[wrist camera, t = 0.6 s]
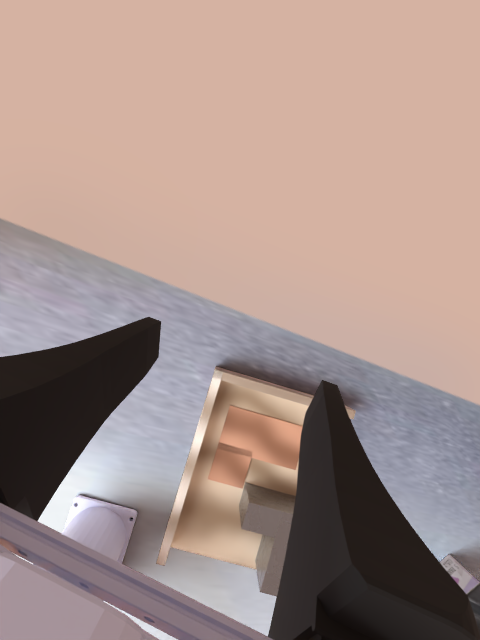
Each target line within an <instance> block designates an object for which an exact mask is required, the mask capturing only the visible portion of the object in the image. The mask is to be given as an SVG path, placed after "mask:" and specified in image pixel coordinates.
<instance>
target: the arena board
mask: <svg viewBox="0 0 480 640" xmlns="http://www.w3.org/2000/svg"><path fill="white" fill-rule="evenodd" d="M313 397H314V395H311V394H307V393H304V392H300V391H297V390H294V389H290V388H287V387H284V386H280V385H277V384H273V383H270V382H267V381H263V380H260V379H257V378H253V377H250V376H247V375H243V374H240V373H236V372H233V371H230V370H226V369H223V368H220V367H215V371H214V374H213V377H212V380H211V384H210V387H209V390H208V393H207V397H206V400H205V403H204V407H203V410H202V413H201V416H200V420H199V423H198V426H197V430H196V433H195V436H194V439H193V443H192V446H191V449H190V452H189V456H188V459H187V462H186V466H185V469H184V472H183V475H182V479H181V482H180V485H179V488H178V492H177V495H176V498H175V502H174V505H173V508H172V511H171V515H170V518H169V521H168V524H167V528H166V531H165V534H164V538H163V541H162V544H161V548H160V552H159V555H158V559H157V563H156V564H159V565H163V566H165V563H166V560H167V556H168V553H169V550H170V547H172V548H176V549H180V550H183V551H187V552H191V553H195V554H199V555H203V556H206V557H210V558H214V559H218V560H222V561H226V562H230V563H233V564H237V565H241V566H245V567H249V568H253V569H256V563H255V560H256V556H257V552H258V549H259V545H260V542H261V538H262V534H258V533H255V532H251V531H247V530H243V529H241V521H240V512H239V503H240V500H241V496H242V493H243V489H244V486H245V482H247V483H250V484H254V485H258V486H261V487H265V488H268V489H272V490H276V491H279V492H283V493H287V494H290V495H294V496H296V490H297V477H298V464H299V451H300V439H301V432H302V427H303V422H304V417H305V413H306V411H307V409H308V407H309V405H310V403H311V401H312V399H313ZM345 407H346V410H347V413H348V415H349V418H351V419H354V415H355V412H356V411H354V410H353V409H351V408H349V407H347V406H346V405H345ZM256 570H257V569H256Z"/></svg>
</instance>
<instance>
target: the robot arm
mask: <svg viewBox="0 0 480 640" xmlns="http://www.w3.org/2000/svg"><path fill="white" fill-rule="evenodd" d="M160 329H161V321H159V320H156V319H153V318H150V317H147V318H144V319H141V320H138V321H135V322H133V323H130V324H128V325H125V326H122V327H120V328H117V329H114V330H111V331H109V332H106V333H103V334H100V335H97V336H94V337H91V338H88V339H85V340H81V341H78V342H75V343H71V344H67V345H63V346H59V347H55V348H51V349H46V350H41V351H36V352H30V353H25V354H19V355H13V356H5V357H0V640H159V639H157V638H156V637H154V636H152V635H151V634H149V633H148V632H146V631H144V630H143V629H141V627H140V626H139V625H137V624H136V623H135V622H134V621H133V620H131V619H130V618H129V617H128V616H126V615H125V614H123V613H121V612H120V611H118V610H117V609H115V608H113V607H112V606H110V605H108V604H107V603H105V602H103V600H104V601H106V602H108V603H110V604H111V605H113V606H115V607H117V608H119V609H121V610H123V611H125V612H127V613H129V614H130V615H132V616H134V617H136V618H138V619H140V620H142V621H144V622H146V623H148V624H150V625H151V626H153V627H155V628H157V629H159V630H161V631H163V632H165V633H167V634H169V635H170V636H172V637H174V638H176V639H178V640H480V633H479V630H478V626H477V622H476V619H475V616H474V613H473V610H472V607H471V604H470V601H469V598H468V596H467V594H466V593H465V592H464V591H463V590H462V588H461V587H460V586H459V585H458V584H457V582H456V581H455V580H454V579H453V578H452V577H451V575H450V574H449V573H448V572H447V571H446V569H445V568H444V567H443V566H442V565H441V564H440V562H439V561H438V560H437V559H436V558H435V556H434V555H433V554H432V553H431V551H430V550H429V549H428V548H427V546H426V545H425V544H424V542H423V541H422V540H421V538H420V537H419V536H418V535H417V533H416V532H415V531H414V529H413V528H412V526H411V525H410V524H409V522H408V521H407V520H406V518H405V517H404V515H403V514H402V513H401V511H400V510H399V508H398V507H397V505H396V504H395V502H394V501H393V499H392V498H391V496H390V495H389V493H388V492H387V490H386V488H385V487H384V485H383V484H382V482H381V480H380V479H379V477H378V475H377V473H376V472H375V470H374V468H373V467H372V465H371V463H370V461H369V459H368V457H367V455H366V453H365V451H364V449H363V447H362V445H361V443H360V441H359V439H358V436H357V434H356V432H355V430H354V427H353V425H352V423H351V420H350V418H349V415H348V413H347V410H346V407H345V405H344V402H343V399H342V397H341V394H340V391H339V388H338V386H337V385H335V384H332V383H329V382H326V381H324V380H322V381H321V383H320V385H319V387H318V389H317V391H316V393H315V395H314V397H313V399H312V401H311V403H310V405H309V407H308V409H307V411H306V413H305V417H304V422H303V427H302V432H301V439H300V451H299V464H298V477H297V490H296V498H295V505H294V511H293V517H292V522H291V528H290V533H289V539H288V544H287V549H286V555H285V560H284V565H283V569H282V574H281V579H280V584H279V589H278V594H277V598H276V603H275V608H274V612H273V617H272V621H271V626H270V630H269V635H268V637H267V636H265V635H263V634H261V633H259V632H257V631H255V630H253V629H251V628H249V627H247V626H245V625H243V624H241V623H239V622H237V621H235V620H233V619H231V618H229V617H227V616H225V615H223V614H221V613H219V612H217V611H215V610H213V609H211V608H209V607H207V606H205V605H203V604H201V603H199V602H197V601H195V600H193V599H191V598H189V597H187V596H185V595H183V594H181V593H179V592H177V591H175V590H173V589H171V588H169V587H167V586H165V585H163V584H161V583H159V582H157V581H155V580H153V579H151V578H149V577H147V576H145V575H143V574H141V573H139V572H137V571H135V570H133V569H131V568H129V567H127V566H125V565H123V564H122V562H123V559H124V556H125V552H126V549H127V546H128V543H129V540H130V536H131V533H132V530H133V527H134V524H135V520H136V517H137V511H136V510H134V509H130V508H126V507H122V506H119V505H115V504H111V503H107V502H104V501H100V500H96V499H92V498H88V497H85V496H81V495H77V496H76V497H75V498H74V500H73V503H72V506H71V509H70V512H69V515H68V518H67V521H66V524H65V527H64V530H63V532H62V533H59V532H57V531H55V530H53V529H51V528H49V527H47V526H45V525H43V524H41V523H39V522H37V521H38V519H39V517H40V516H41V514H42V512H43V511H44V509H45V508H46V506H47V504H48V503H49V501H50V500H51V498H52V496H53V495H54V493H55V492H56V490H57V489H58V487H59V485H60V484H61V482H62V481H63V479H64V478H65V476H66V475H67V473H68V472H69V470H70V469H71V467H72V466H73V464H74V463H75V461H76V460H77V459H78V457H79V456H80V454H81V453H82V452H83V450H84V449H85V447H86V446H87V444H88V443H89V442H90V440H91V439H92V438H93V436H94V435H95V434H96V432H97V431H98V429H99V428H100V427H101V425H102V424H103V423H104V421H105V420H106V419H107V418H108V417H109V415H110V414H111V413H112V412H113V411H114V410H115V409H116V408H117V406H118V405H119V404H120V403H121V402H122V401H123V400H124V399H125V398H126V397H127V395H128V394H129V393H130V392H131V391H132V390H133V389H134V388H135V387H136V386H137V384H138V383H139V382H140V381H141V380H142V379H143V378H144V377H145V375H146V374H147V373H148V371H149V370H150V369H151V367H152V366H153V364H154V363H155V361H156V360H157V358H158V355H159V342H160ZM75 503H78V505H76V504H75ZM131 517H132V518H133V520H131V519H130V518H131ZM13 553H14V554H13ZM15 554H16V555H18V556H20V557H22V558H24V559H26V560H28V561H30V562H31V563H33V565H32V564H30V563H29V562H27V561H25V560H23V559H21V558H19V557H17V556H16V555H15Z"/></svg>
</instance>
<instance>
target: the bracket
mask: <svg viewBox="0 0 480 640" xmlns="http://www.w3.org/2000/svg"><path fill="white" fill-rule="evenodd" d="M295 498H296V496H294V495H290V494H287V493H283V492H279V491H276V490H272V489H268V488H265V487H261V486H258V485H254V484H250V483H247V482H245V486H244V489H243V493H242V496H241V500H240V503H239V512H240V521H241V529H243V530H247V531H251V532H255V533H258V534H262V538H261V542H260V545H259V549H258V552H257V556H256V560H255V563H256V569H257V575H258V582H259V588H260V592H262V593H266V594H270V595H274V596H277V594H278V589H279V584H280V579H281V574H282V569H283V565H284V560H285V555H286V549H287V544H288V539H289V533H290V528H291V522H292V517H293V511H294V505H295Z"/></svg>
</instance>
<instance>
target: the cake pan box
mask: <svg viewBox="0 0 480 640" xmlns="http://www.w3.org/2000/svg"><path fill="white" fill-rule="evenodd" d="M440 564H441V565H442V566H443V567H444V568H445V569H446V571H447V572H448V573H449V574H450V575H451V577H452V578H453V579H454V580H455V581H456V582H457V584H458V585H459V586H460V587H461V588H462V590H463V591H464V592H465V593H466V594H467V596H468V598H469V601H470V604H471V607H472V610H473V613H474V616H475V619H476V622H477V626H478V630H479V633H480V581H478V580H477V579H476V578H475V577H474V576H473V575H472V574H471V573H469V572H468V571H467V570H466V569H465V568H464V567H463V566H462V565H461V564H460V563H459V562H458V561H456V560H455V559H454V558H453V557H452V556H451V555H447V556H446V557H445V558H444V559H443V560H442V561H441V562H440Z"/></svg>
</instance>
